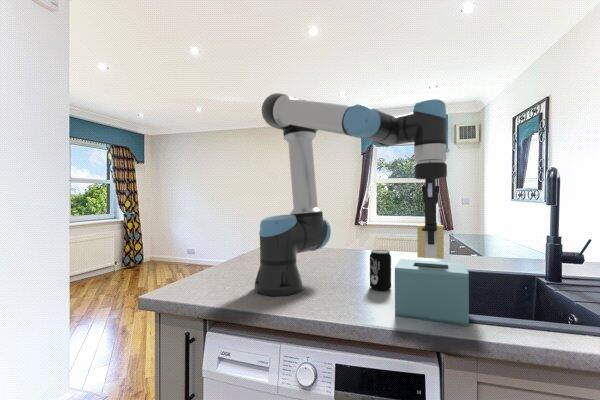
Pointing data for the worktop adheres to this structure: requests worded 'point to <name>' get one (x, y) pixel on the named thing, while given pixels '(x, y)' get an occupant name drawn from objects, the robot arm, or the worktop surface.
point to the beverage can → (380, 270)
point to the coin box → (432, 291)
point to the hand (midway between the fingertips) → (431, 256)
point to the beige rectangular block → (422, 242)
